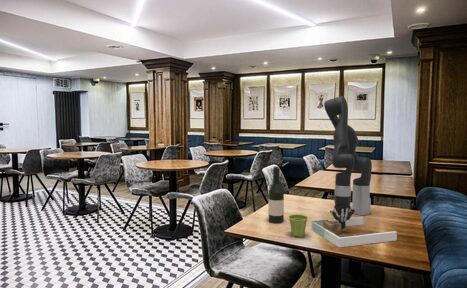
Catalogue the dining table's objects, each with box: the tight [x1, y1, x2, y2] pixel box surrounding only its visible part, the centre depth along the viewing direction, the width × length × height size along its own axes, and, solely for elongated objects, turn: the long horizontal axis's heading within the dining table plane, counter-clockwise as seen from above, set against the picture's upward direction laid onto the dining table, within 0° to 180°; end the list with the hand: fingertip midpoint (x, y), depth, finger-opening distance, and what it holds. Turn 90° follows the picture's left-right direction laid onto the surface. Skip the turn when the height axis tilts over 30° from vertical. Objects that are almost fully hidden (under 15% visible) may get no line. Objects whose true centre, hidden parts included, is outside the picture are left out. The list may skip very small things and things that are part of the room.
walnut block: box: [324, 219, 342, 236], centre depth 155 cm, size 6×6×5 cm
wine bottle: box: [268, 166, 285, 225], centre depth 172 cm, size 8×8×30 cm
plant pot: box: [287, 213, 309, 238], centre depth 152 cm, size 9×9×9 cm
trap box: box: [310, 216, 398, 248], centre depth 152 cm, size 30×24×5 cm
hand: (342, 228), depth 157 cm, fingers closed
